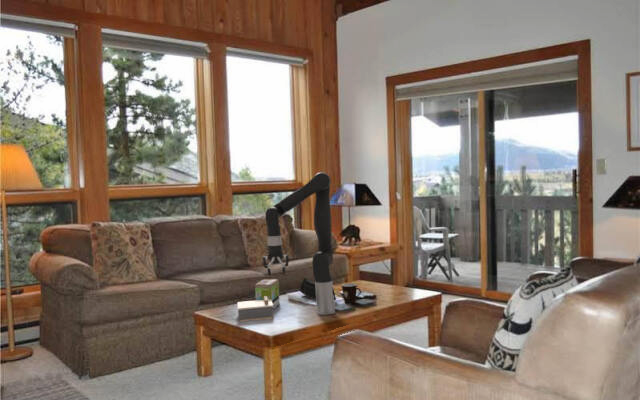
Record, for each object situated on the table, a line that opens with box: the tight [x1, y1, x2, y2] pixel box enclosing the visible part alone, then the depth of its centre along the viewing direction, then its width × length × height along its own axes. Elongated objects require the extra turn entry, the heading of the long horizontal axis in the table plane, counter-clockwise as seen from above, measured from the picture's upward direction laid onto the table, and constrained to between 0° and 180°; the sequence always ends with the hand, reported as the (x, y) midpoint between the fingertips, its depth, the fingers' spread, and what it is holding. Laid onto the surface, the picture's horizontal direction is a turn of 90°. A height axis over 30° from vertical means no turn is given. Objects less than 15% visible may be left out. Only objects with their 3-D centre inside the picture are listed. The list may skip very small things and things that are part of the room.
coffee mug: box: [341, 282, 362, 304], centre depth 319 cm, size 12×9×10 cm
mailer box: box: [237, 307, 274, 322], centre depth 299 cm, size 18×14×6 cm
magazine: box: [299, 277, 337, 302], centre depth 332 cm, size 17×3×30 cm
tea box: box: [254, 278, 280, 309], centre depth 319 cm, size 15×10×15 cm
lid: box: [237, 296, 273, 310], centre depth 299 cm, size 18×14×3 cm
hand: (276, 274), depth 300 cm, fingers open, 6 cm apart
